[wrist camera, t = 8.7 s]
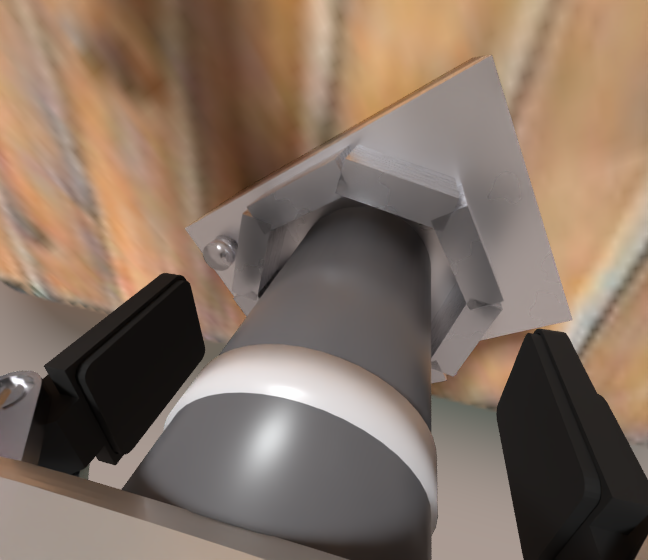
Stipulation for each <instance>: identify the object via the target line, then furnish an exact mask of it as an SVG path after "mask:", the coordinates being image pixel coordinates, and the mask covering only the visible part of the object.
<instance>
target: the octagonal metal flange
mask: <svg viewBox="0 0 648 560" xmlns="http://www.w3.org/2000/svg"><path fill="white" fill-rule="evenodd" d="M348 207H371V208H377V209H380V210H384V211H386V212H389V213H391V214H394V215H396V216H397V217H399V218H401V219H402V220H404V221H405V222H406V223H408V224H409V225H410V226H411V227H412V228H413V229H414V230H415V231H416V232H417V233H418V235H419V236H420V237H421V239H422V240H423V242H424V244H425V246H426V248H427V251H428V254H429V258H430V262H431V383H436V382H441V381H447V375H450V376H453V377H454V375H455V374H456V373H457V371H458V370H459V368H460V367H461V366H462V364H463V363H464V362H465V360H466V359H467V358H468V356H469V355H470V353H471V352H472V351H473V349H474V348H475V347H476V345H477V344H478V342H479V341H481V340H485V339H490V338H494V337H499V336H503V335H508V334H512V333H516V332H521V331H525V330H530V329H534V328H539V327H543V326H548V325H552V324H557V323H561V322H566V321H570V320H572V317H571V313H570V310H569V307H568V304H567V300H566V297H565V294H564V290H563V287H562V284H561V281H560V277H559V274H558V271H557V267H556V264H555V261H554V257H553V254H552V251H551V248H550V244H549V241H548V238H547V234H546V231H545V228H544V225H543V221H542V218H541V215H540V211H539V208H538V205H537V202H536V198H535V195H534V192H533V188H532V185H531V182H530V178H529V175H528V172H527V169H526V165H525V162H524V159H523V155H522V152H521V149H520V146H519V142H518V139H517V136H516V132H515V129H514V126H513V123H512V119H511V116H510V113H509V109H508V106H507V103H506V99H505V96H504V93H503V90H502V86H501V83H500V80H499V76H498V73H497V70H496V67H495V63H494V60H493V57H492V55H488V56H482V57H475V58H471V59H470V60H468V61H466V62H464V63H463V64H461V65H459V66H457V67H456V68H454V69H452V70H451V71H449V72H447V73H445V74H444V75H442V76H440V77H438V78H437V79H435V80H433V81H431V82H430V83H428V84H426V85H424V86H423V87H421V88H419V89H417V90H416V91H414V92H412V93H410V94H409V95H407V96H405V97H404V98H402V99H400V100H398V101H397V102H395V103H393V104H391V105H390V106H388V107H386V108H384V109H383V110H381V111H379V112H377V113H376V114H374V115H372V116H370V117H369V118H367V119H365V120H363V121H362V122H360V123H358V124H356V125H355V126H353V127H351V128H350V129H348V130H346V131H344V132H343V133H341V134H339V135H337V136H336V137H334V138H332V139H330V140H329V141H327V142H325V143H323V144H322V145H320V146H318V147H316V148H315V149H313V150H311V151H309V152H308V153H306V154H304V155H303V156H301V157H299V158H297V159H296V160H294V161H292V162H290V163H289V164H287V165H285V166H283V167H282V168H280V169H278V170H276V171H275V172H273V173H271V174H269V175H268V176H266V177H264V178H262V179H261V180H259V181H257V182H256V183H254V184H252V185H250V186H249V187H247V188H245V189H243V190H242V191H240V192H238V193H237V194H235V195H234V196H232V197H231V198H229V199H228V200H226V201H225V202H223V203H222V204H220V205H219V206H217V207H216V208H214V209H213V210H211V211H210V212H208V213H207V214H205V215H204V216H202V217H201V218H199V219H198V220H196V221H195V222H193V223H192V224H190V225H189V226H187V227H186V228H185V230H186V231H187V232H188V234H189V235H190V236H191V238H192V239H193V241H194V242H195V243H196V245H197V246H198V247H199V249H200V250H201V252H202V253H203V257H204V259H205V261H206V263H207V264H208V265H209V266H210V267H211V268H213V269H214V270H215V271H216V272H217V274H218V275H219V276H220V278H221V279H222V281H223V282H224V283H225V285H226V286H227V287H228V289H229V290H230V292H231V293H232V294H233V296H234V298H233V299H234V300H235V301H236V303H237V304H238V305H239V307H240V308H241V310H242V311H243V312H244V314H245V315H246V316H248V314H249V313H250V312H251V310H252V309H253V307H254V306H255V305H256V303H257V302H258V301H259V299H260V298H261V296H262V295H263V294H264V292H265V291H266V289H267V288H268V287H269V285H270V284H271V283H272V281H273V280H274V278H275V277H276V276H277V274H278V273H279V272H280V270H281V269H282V267H283V266H284V265H285V263H286V262H287V260H288V259H289V258H290V256H291V255H292V254H293V252H294V251H295V249H296V248H297V247H298V245H299V244H300V243H301V241H302V240H303V238H304V237H305V236H306V234H307V233H308V231H309V230H310V229H311V227H312V226H313V225H314V224H315V223H316V222H317V221H319V220H320V219H321V218H323V217H324V216H326V215H328V214H330V213H332V212H334V211H337V210H340V209H344V208H348ZM446 374H447V375H446Z"/></svg>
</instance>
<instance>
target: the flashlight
mask: <svg viewBox="0 0 648 560" xmlns="http://www.w3.org/2000/svg"><path fill="white" fill-rule="evenodd" d="M122 490H123V491H127V492H130V493H133V494H137V495H140V496H143V497H147V498H150V499H153V500H157V501H160V502H163V503H167V504H170V505H173V506H176V507H180V508H183V509H186V510H188V511H190V512H192V513H195V514H198V515H201V516H205V517H208V518H211V519H214V520H218V521H221V522H224V523H227V524H231V525H234V526H237V527H240V528H244V529H247V530H250V531H253V532H257V533H260V534H264V535H269V536H274V537H278V538H281V539H284V540H287V541H291V542H294V543H297V544H300V545H304V546H307V547H310V548H313V549H317V550H320V551H323V552H326V553H329V554H333V555H336V556H339V557H342V558H345V559H349V560H431V536H432V534H433V532H434V530H435V528H436V524H437V518H438V506H437V455H436V447H435V443H434V440H433V437H432V435H431V262H430V258H429V254H428V251H427V248H426V246H425V244H424V242H423V240H422V239H421V237H420V236H419V235H418V233H417V232H416V231H415V230H414V229H413V228H412V227H411V226H410V225H409V224H408V223H406V222H405V221H404V220H402V219H401V218H399V217H397V216H396V215H394V214H391V213H389V212H386V211H384V210H380V209H377V208H371V207H348V208H344V209H340V210H337V211H334V212H332V213H330V214H328V215H326V216H324V217H323V218H321V219H320V220H319V221H317V222H316V223H315V224H314V225H313V226H312V227H311V229H310V230H309V231H308V233H307V234H306V236H305V237H304V238H303V240H302V241H301V243H300V244H299V245H298V247H297V248H296V249H295V251H294V252H293V254H292V255H291V256H290V258H289V259H288V260H287V262H286V263H285V265H284V266H283V267H282V269H281V270H280V272H279V273H278V274H277V276H276V277H275V278H274V280H273V281H272V283H271V284H270V285H269V287H268V288H267V289H266V291H265V292H264V294H263V295H262V296H261V298H260V299H259V301H258V302H257V303H256V305H255V306H254V307H253V309H252V310H251V312H250V313H249V314H248V316H247V317H246V318H245V320H244V321H243V323H242V324H241V325H240V327H239V328H238V329H237V331H236V332H235V334H234V335H233V336H232V338H231V339H230V341H229V342H228V343H227V345H226V346H225V347H224V349H223V350H222V352H221V353H220V354H219V356H218V357H216V358H214V359H213V360H211V361H210V362H209V363H208V364H207V365H206V366H205V367H204V368H203V369H202V370H201V372H200V373H199V375H198V376H197V377H196V378H195V380H194V381H193V383H192V384H191V385H190V387H189V388H188V389H187V391H186V392H185V393H184V395H183V396H182V397H181V399H180V400H179V401H178V403H177V404H176V405H175V407H174V408H173V410H172V411H171V412H170V414H169V415H168V417H167V420H166V422H165V425H164V432H163V433H162V435H161V436H160V437H159V439H158V440H157V441H156V443H155V444H154V445H153V447H152V448H151V450H150V451H149V452H148V454H147V455H146V456H145V458H144V459H143V461H142V462H141V463H140V465H139V466H138V468H137V469H136V470H135V472H134V473H133V474H132V476H131V477H130V479H129V480H128V481H127V483H126V484H125V485H124V487H123V488H122Z"/></svg>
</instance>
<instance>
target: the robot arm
mask: <svg viewBox="0 0 648 560" xmlns="http://www.w3.org/2000/svg"><path fill="white" fill-rule="evenodd" d="M204 353H205V345H204V341H203V337H202V333H201V328H200V324H199V320H198V315H197V311H196V307H195V302H194V298H193V294H192V290H191V286H190V283H189V282H188V281H186V279H185V278H184V276H181V275H175V274H168V273H163V274H161V275H159V276H158V277H157V278H156V279H154V280H153V281H152V282H150V283H149V284H148V285H147V286H145V287H144V288H143V289H141V290H140V291H139V292H138V293H136V294H135V295H134V296H132V297H131V298H130V299H129V300H127V301H126V302H125V303H124V304H122V305H121V306H120V307H118V308H117V309H116V310H115V311H113V312H112V313H111V314H109V315H108V316H107V317H106V318H104V319H103V320H102V321H101V322H99V323H98V324H97V325H95V326H94V327H93V328H92V329H91V330H89V331H88V332H86V333H85V334H84V335H83V336H81V337H80V338H79V339H77V340H76V341H75V342H74V343H72V344H71V345H70V346H69V347H67V348H66V349H65V350H63V351H62V352H61V353H60V354H58V355H57V356H56V357H55V358H53V359H52V360H51V361H49V362H48V363H47V364H45V365H44V367H45V369H46V371H47V372H48V375H47V376H46V377H45V378H44V379H42V378H41V376H40V375H39V374H38V373H36V372H33V371H17V372H12V373H8V374H6V375H3V376H0V560H349V559H345V558H342V557H339V556H336V555H333V554H329V553H326V552H323V551H320V550H317V549H313V548H310V547H307V546H304V545H300V544H297V543H294V542H291V541H287V540H284V539H281V538H278V537H274V536H269V535H264V534H260V533H257V532H253V531H250V530H247V529H244V528H240V527H237V526H234V525H231V524H227V523H224V522H221V521H218V520H214V519H211V518H208V517H205V516H201V515H198V514H195V513H192V512H190V511H188V510H186V509H183V508H180V507H176V506H173V505H170V504H167V503H163V502H160V501H157V500H153V499H150V498H147V497H143V496H140V495H137V494H133V493H130V492H127V491H123V490H120V489H116V488H113V487H109V486H106V485H103V484H100V483H96V482H93V481H90V480H88V475H89V465H90V464H89V463H90V462H91V461H92V460H93V459H94V457H95V456H96V457H97V459H98V460H99V461H102V462H106V463H109V464H113V465H116V464H117V463H118V462H119V460H120V459H121V458H122V456H123V455H124V454H128V453H129V452H130V451H131V450H132V449H133V448H134V447H135V446H136V444H137V443H138V442H139V440H140V439H141V438H142V437H143V435H144V434H145V433H146V431H147V430H148V428H149V427H150V426H151V425H152V424H153V422H154V421H155V420H156V418H157V417H158V416H159V414H160V413H161V412H162V411H163V409H164V408H165V407H166V405H167V404H168V403H169V402H170V400H171V399H172V398H173V396H174V395H175V394H176V392H177V391H178V390H179V388H180V387H181V386H182V385H183V383H184V382H185V381H186V379H187V378H188V377H189V376H190V374H191V373H192V372H193V370H194V369H195V368H196V366H197V365H198V364H199V362H200V361H201V360H202V358H203V356H204ZM497 422H498V427H499V432H500V437H501V443H502V449H503V454H504V459H505V464H506V469H507V474H508V480H509V485H510V491H511V496H512V501H513V507H514V512H515V517H516V522H517V527H518V533H519V538H520V543H521V549H522V553H523V558H524V560H648V480H647V477H646V475H645V474H644V472H643V470H642V468H641V466H640V464H639V462H638V460H637V458H636V457H635V455H634V453H633V451H632V449H631V447H630V445H629V443H628V441H627V439H626V437H625V435H624V434H623V432H622V430H621V428H620V426H619V424H618V422H617V420H616V418H615V416H614V415H613V413H612V411H611V409H610V407H609V405H608V403H607V402H606V400H605V399H604V398H603V397H602V396H601V395H599V394H597V392H596V390H595V388H594V386H593V384H592V382H591V380H590V379H589V377H588V375H587V373H586V371H585V369H584V367H583V365H582V363H581V361H580V359H579V357H578V355H577V353H576V351H575V349H574V347H573V345H572V343H571V341H570V339H569V337H568V336H567V334H566V333H564V332H558V331H551V330H545V329H537V330H536V331H535V332H534V334H532V333H528V334H527V335H526V336H525V338H524V341H523V343H522V346H521V348H520V351H519V353H518V356H517V358H516V361H515V363H514V366H513V368H512V371H511V373H510V376H509V378H508V381H507V383H506V386H505V388H504V391H503V393H502V396H501V398H500V401H499V403H498V406H497Z"/></svg>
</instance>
